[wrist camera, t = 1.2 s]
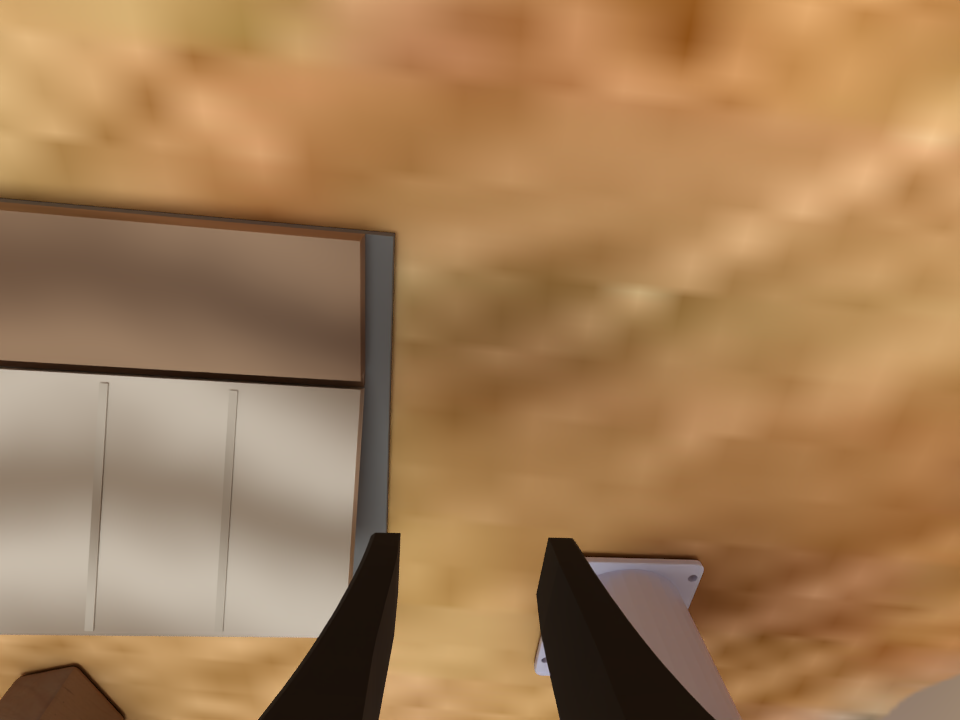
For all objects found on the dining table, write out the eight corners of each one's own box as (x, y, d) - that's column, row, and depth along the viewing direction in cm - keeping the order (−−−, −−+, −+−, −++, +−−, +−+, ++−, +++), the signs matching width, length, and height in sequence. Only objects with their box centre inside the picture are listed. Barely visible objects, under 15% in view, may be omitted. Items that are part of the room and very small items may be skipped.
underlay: (384, 626, 28) (383, 636, 27) (80, 622, 26) (73, 633, 26) (394, 233, 18) (393, 236, 18) (-78, 191, 17) (-95, 193, 16)
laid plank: (365, 382, 20) (360, 397, 19) (-4, 360, 19) (-30, 375, 18) (365, 233, 18) (359, 241, 17) (-62, 196, 16) (-98, 201, 15)
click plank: (349, 621, 20) (344, 638, 19) (-19, 616, 19) (-51, 635, 18) (364, 387, 20) (360, 389, 19) (-5, 366, 19) (-36, 366, 18)
